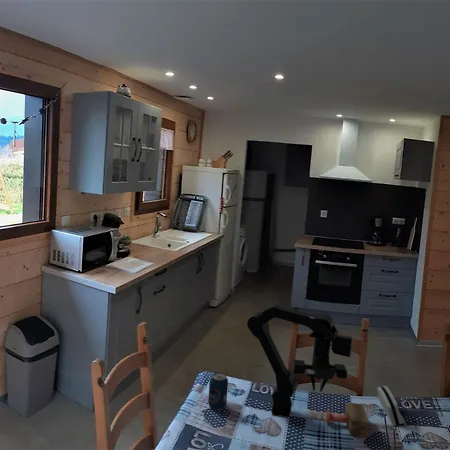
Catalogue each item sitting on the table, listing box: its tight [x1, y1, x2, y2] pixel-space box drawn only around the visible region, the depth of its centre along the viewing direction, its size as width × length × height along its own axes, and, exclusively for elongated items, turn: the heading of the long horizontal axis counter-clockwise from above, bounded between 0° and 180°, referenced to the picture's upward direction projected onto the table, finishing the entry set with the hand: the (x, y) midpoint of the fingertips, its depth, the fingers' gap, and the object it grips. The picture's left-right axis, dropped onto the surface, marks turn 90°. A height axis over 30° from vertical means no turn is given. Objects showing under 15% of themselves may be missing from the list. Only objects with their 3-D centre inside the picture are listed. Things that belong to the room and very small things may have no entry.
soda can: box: [207, 372, 229, 410], centre depth 167 cm, size 7×7×12 cm
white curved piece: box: [376, 385, 407, 427], centre depth 171 cm, size 17×5×10 cm, turn 177°
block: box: [344, 401, 370, 439], centre depth 160 cm, size 6×12×6 cm, turn 175°
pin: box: [325, 410, 349, 425], centre depth 161 cm, size 10×4×4 cm, turn 85°
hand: (317, 391), depth 160 cm, fingers open, 2 cm apart
